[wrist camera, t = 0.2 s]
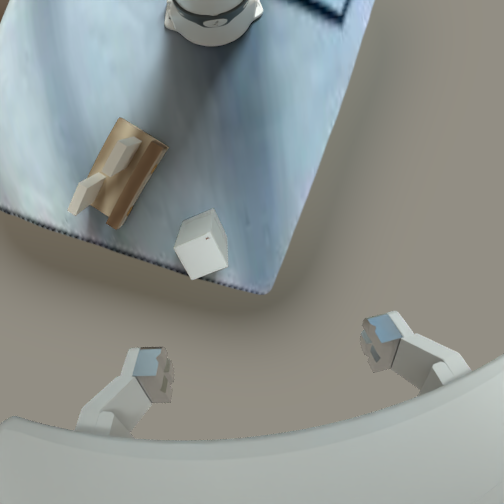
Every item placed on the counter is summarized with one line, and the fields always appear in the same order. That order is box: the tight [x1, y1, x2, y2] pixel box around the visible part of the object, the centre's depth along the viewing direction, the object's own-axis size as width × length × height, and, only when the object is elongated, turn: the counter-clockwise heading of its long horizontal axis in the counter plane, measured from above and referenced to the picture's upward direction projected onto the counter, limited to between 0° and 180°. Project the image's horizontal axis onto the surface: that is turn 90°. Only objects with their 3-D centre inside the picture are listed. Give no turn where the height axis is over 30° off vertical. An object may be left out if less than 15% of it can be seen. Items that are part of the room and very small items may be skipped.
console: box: [87, 117, 169, 230], centre depth 50 cm, size 12×19×4 cm, turn 143°
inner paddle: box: [101, 136, 142, 177], centre depth 45 cm, size 2×6×9 cm, turn 143°
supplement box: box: [174, 208, 228, 280], centre depth 54 cm, size 7×7×13 cm
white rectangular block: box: [67, 172, 106, 216], centre depth 47 cm, size 2×6×9 cm, turn 143°
